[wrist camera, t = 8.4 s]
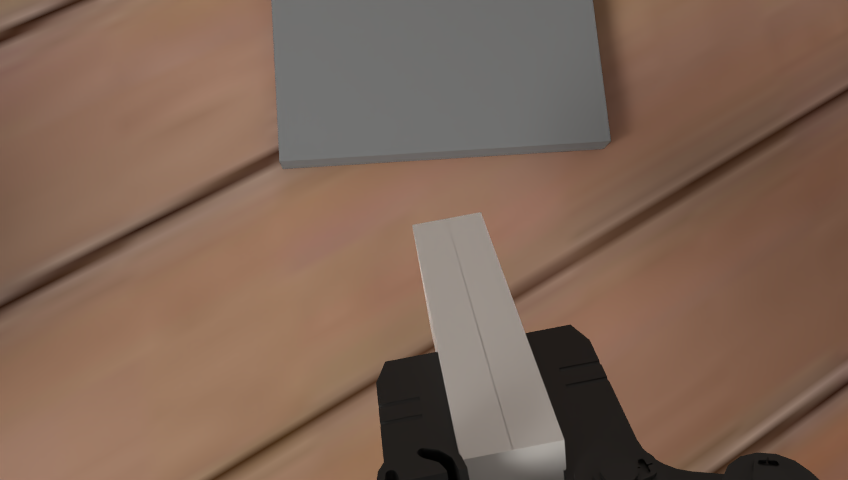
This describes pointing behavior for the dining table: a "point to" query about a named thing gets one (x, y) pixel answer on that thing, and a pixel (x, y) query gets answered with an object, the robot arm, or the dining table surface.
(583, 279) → the dining table surface
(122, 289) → the dining table surface
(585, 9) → the slate base board
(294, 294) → the dining table surface
